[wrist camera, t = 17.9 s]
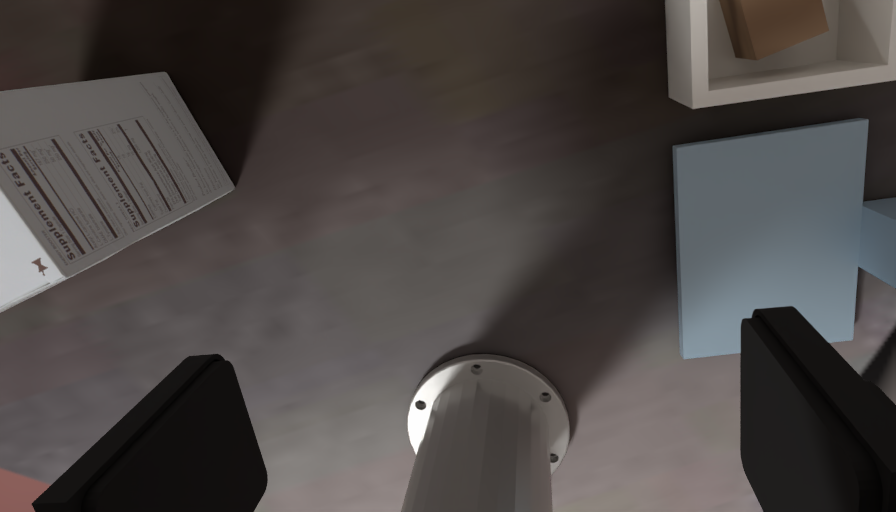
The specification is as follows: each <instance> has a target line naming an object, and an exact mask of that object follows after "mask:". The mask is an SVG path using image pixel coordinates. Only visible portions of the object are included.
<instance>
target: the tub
mask: <svg viewBox="0 0 896 512" xmlns="http://www.w3.org/2000/svg"><path fill="white" fill-rule="evenodd" d="M822 3H823V7H824V12H825V16H826V20H827V24H828V28H829V31H827V32H825V33H822V34H820V35H818V36H815V37H813V38H810V39H808V40H805V41H803V42H801V43H798V44H796V45H793V46H791V47H788V48H786V49H784V50H781V51H779V52H776V53H774V54H771V55H769V56H767V57H764V58H762V59H759V60H750V59H742V58H736V57H735V54H734V50H733V47H732V43H731V40H730V36H729V33H728V29H727V26H726V23H725V19H724V16H723V12H722V9H721V5H720V2H719V0H665V16H666V43H667V69H668V96H669V98H671V99H673V100H675V101H677V102H679V103H681V104H683V105H685V106H687V107H690V108H692V109H697V108H704V107H711V106H718V105H725V104H732V103H739V102H746V101H753V100H760V99H767V98H774V97H781V96H788V95H795V94H802V93H809V92H816V91H823V90H831V89H838V88H845V87H852V86H859V85H866V84H873V83H880V82H887V81H894V80H896V0H822Z"/></svg>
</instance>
